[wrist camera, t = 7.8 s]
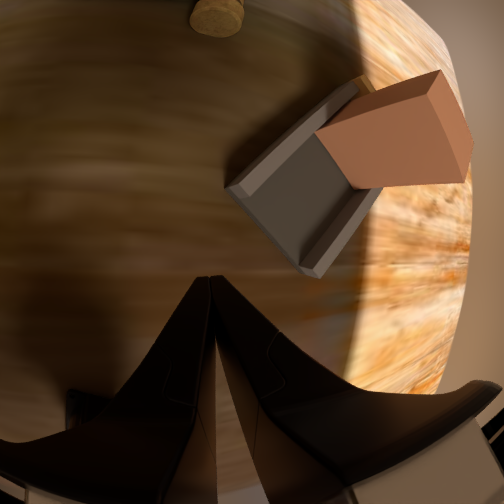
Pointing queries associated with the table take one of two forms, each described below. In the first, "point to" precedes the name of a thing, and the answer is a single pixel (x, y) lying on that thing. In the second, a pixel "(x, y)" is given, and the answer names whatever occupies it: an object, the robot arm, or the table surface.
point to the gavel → (217, 17)
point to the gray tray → (305, 189)
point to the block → (401, 135)
